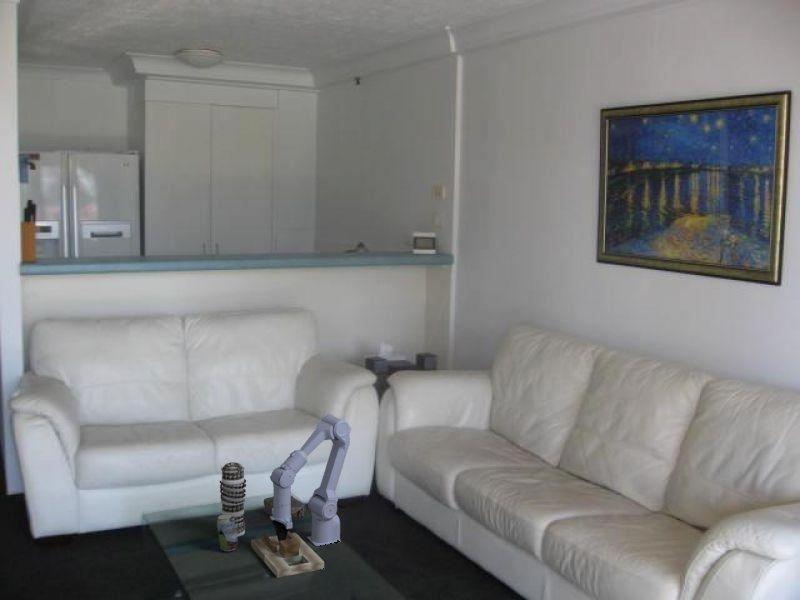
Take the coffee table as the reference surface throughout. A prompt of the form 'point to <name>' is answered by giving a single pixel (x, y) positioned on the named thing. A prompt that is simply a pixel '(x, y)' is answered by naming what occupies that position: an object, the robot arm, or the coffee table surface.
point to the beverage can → (227, 532)
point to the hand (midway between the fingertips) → (281, 541)
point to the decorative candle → (233, 494)
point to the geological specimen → (296, 507)
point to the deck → (286, 566)
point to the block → (289, 548)
